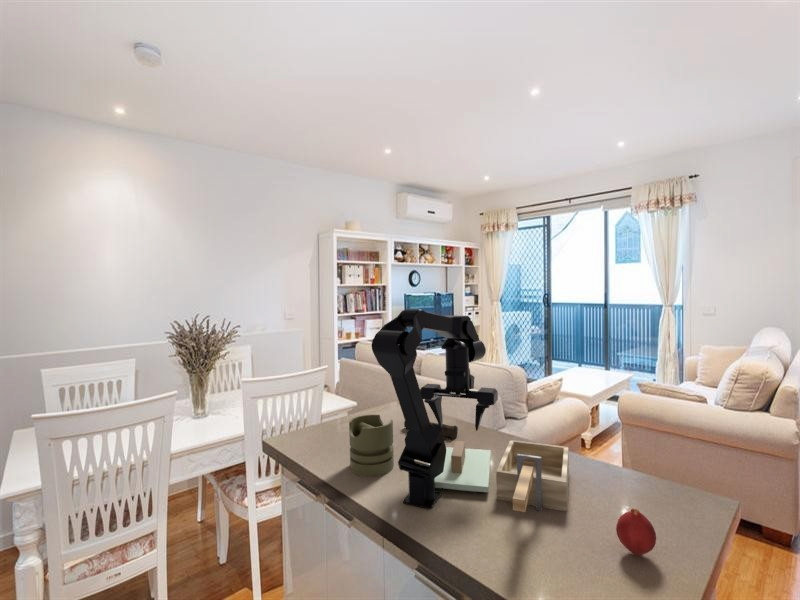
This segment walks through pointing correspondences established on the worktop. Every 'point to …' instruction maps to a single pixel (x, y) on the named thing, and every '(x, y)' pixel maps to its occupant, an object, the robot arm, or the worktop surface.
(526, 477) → the tan rectangular bar
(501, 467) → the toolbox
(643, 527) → the onion
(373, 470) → the piston
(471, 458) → the lid
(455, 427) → the hand tool
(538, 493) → the bracket
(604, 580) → the worktop surface
